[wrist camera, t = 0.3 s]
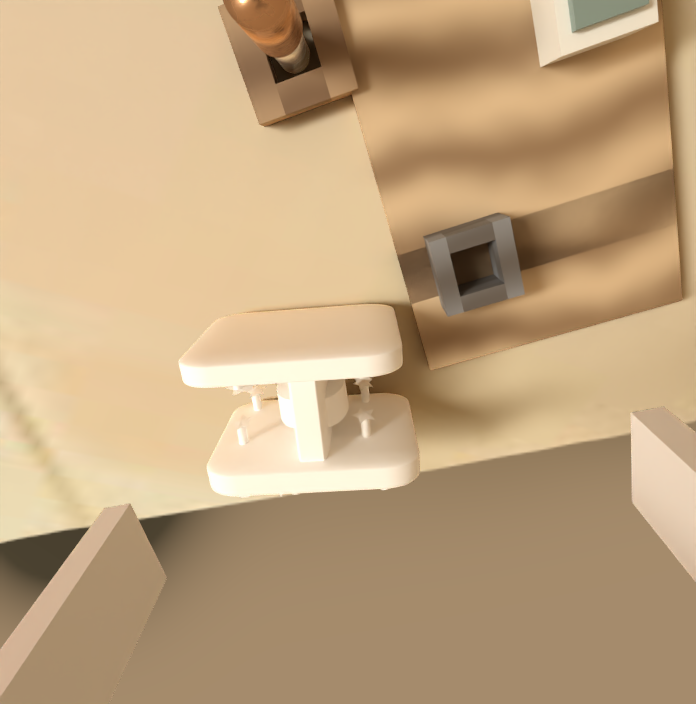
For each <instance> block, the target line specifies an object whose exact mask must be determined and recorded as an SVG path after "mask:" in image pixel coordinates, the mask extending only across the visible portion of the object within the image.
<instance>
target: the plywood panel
mask: <svg viewBox="0 0 696 704" xmlns="http://www.w3.org/2000/svg"><path fill="white" fill-rule="evenodd" d="M334 3H335V6H336V10H337V14H338V17H339V21H340V24H341V28H342V31H343V35H344V39H345V42H346V46H347V49H348V53H349V57H350V60H351V64H352V67H353V71H354V75H355V78H356V82H357V85H358V90H356V91H353V92H351V95H352V98H353V102H354V105H355V109H356V112H357V116H358V119H359V123H360V126H361V130H362V133H363V137H364V140H365V144H366V147H367V151H368V154H369V158H370V161H371V165H372V168H373V172H374V175H375V179H376V182H377V186H378V189H379V193H380V196H381V200H382V203H383V207H384V210H385V214H386V217H387V221H388V225H389V228H390V232H391V235H392V239H393V242H394V246H395V249H396V253H397V256H398V260H399V263H400V267H401V270H402V274H403V277H404V281H405V284H406V288H407V291H408V295H409V298H410V302H411V305H412V309H413V312H414V316H415V319H416V323H417V326H418V330H419V333H420V337H421V340H422V344H423V347H424V351H425V354H426V358H427V361H428V365H429V368H430V371H431V370H435V369H438V368H442V367H445V366H449V365H453V364H456V363H460V362H463V361H467V360H470V359H474V358H478V357H481V356H485V355H488V354H492V353H495V352H499V351H503V350H506V349H510V348H513V347H517V346H520V345H524V344H528V343H531V342H535V341H538V340H542V339H546V338H549V337H553V336H556V335H560V334H563V333H567V332H571V331H574V330H578V329H581V328H585V327H588V326H592V325H596V324H599V323H603V322H606V321H610V320H613V319H617V318H621V317H624V316H628V315H631V314H635V313H638V312H642V311H646V310H649V309H653V308H656V307H660V306H664V305H667V304H671V303H674V302H678V301H681V300H682V286H681V272H680V258H679V243H678V229H677V214H676V200H675V186H674V171H673V157H672V142H671V128H670V113H669V99H668V85H667V70H666V56H665V41H664V27H663V12H662V0H657V7H658V21H659V22H657V23H655V24H653V25H650V26H648V27H646V28H644V29H642V30H640V31H638V32H636V33H633V34H631V35H629V36H627V37H624V38H622V39H619V40H616V41H613V42H610V43H608V44H605V45H602V46H599V47H596V48H594V49H591V50H588V51H585V52H582V53H580V54H577V55H574V56H571V57H568V58H566V59H563V60H560V61H557V62H554V63H552V64H549V65H546V66H543V67H540V62H539V55H538V49H537V42H536V36H535V29H534V23H533V16H532V10H531V3H530V0H334Z"/></svg>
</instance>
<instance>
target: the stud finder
mask: <svg viewBox="0 0 696 704" xmlns="http://www.w3.org/2000/svg"><path fill="white" fill-rule="evenodd" d="M530 3H531V10H532V16H533V23H534V29H535V36H536V42H537V49H538V55H539V62H540V67H543V66H546V65H549V64H552V63H554V62H557V61H560V60H563V59H566V58H568V57H571V56H574V55H577V54H580V53H582V52H585V51H588V50H591V49H594V48H596V47H599V46H602V45H605V44H608V43H610V42H613V41H616V40H619V39H622V38H624V37H627V36H629V35H631V34H633V33H636V32H638V31H640V30H642V29H644V28H646V27H648V26H650V25H653V24H655V23H657V22H659V21H658V7H657V0H530Z"/></svg>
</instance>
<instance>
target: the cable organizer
mask: <svg viewBox="0 0 696 704" xmlns="http://www.w3.org/2000/svg"><path fill="white" fill-rule="evenodd" d="M402 365H403V353H402V341H401V337H400V332H399V328H398V324H397V319H396V315H395V311H394V308H393V307H391V306H388V305H383V304H357V305H343V306H330V307H316V308H303V309H289V310H276V311H262V312H249V313H239V314H233V315H229V316H225V317H222V318H219V319H217V320H216V321H214V322H213V323H212V324H211V325H210V326H209V328H208V329H207V330H206V331H205V332H204V333H203V334H202V335H201V336H200V337H199V338H198V340H197V341H196V342H195V343H194V344H193V345H192V346H191V347H190V348H189V349H188V350H187V352H186V353H185V354H184V355H183V356H182V357H181V358H180V359H179V366H180V370H181V375H182V379H183V382H184V383H185V384H187V385H189V386H192V387H198V388H215V387H227V388H226V389H231V390H234V392H233V395H236V394H238V393H241V392H243V391H246V392H248V393H251V396H250V398H251V397H252V401H253V402H252V403H248V404H245V405H243V406H241V407H239V408H237V409H236V410H235V411H234V412H233V414H232V416H231V418H230V420H229V422H228V424H227V426H226V428H225V430H224V432H223V434H222V436H221V438H220V440H219V442H218V444H217V446H216V448H215V450H214V452H213V454H212V456H211V458H210V460H209V462H208V464H207V471H208V475H209V480H210V484H211V487H212V489H213V490H214V491H215V492H217V493H219V494H222V495H226V496H239V497H240V498H241V497H249V496H254V495H273V494H280V496H282V494H292V495H297V494H299V493H311V492H329V491H348V490H367V489H382V490H387V489H389V488H395V487H399V486H403V485H407V484H408V483H410V482H412V481H413V480H415V479H416V478H417V477H418V475H419V473H420V461H419V448H418V443H417V438H416V433H415V429H414V424H413V419H412V414H411V409H410V404H409V401H408V399H407V398H405V397H403V396H401V395H398V394H392V393H373V394H369V387H373V386H372V385H371V384H370V383H369V382H370V381H371V380H372V379H370V378H369V377H376V376H381V375H385V374H389V373H392V372H394V371H396V370H398V369H399V368H400V367H401V366H402ZM352 378H354V379H355V380H356V383H353V384H355V385H359V388H360V390H361V394H358V395H347V390H346V383H345V379H352ZM276 383H277V394H278V400H264V401H261V397H260V394H261V395H264V393H263V391H262V390H264V389H265V388H266V387H267V386H265V387H259V386H258V385H261V384H276ZM254 385H256V386H255V387H254V388H253V387H252V386H254ZM230 386H231V387H230Z"/></svg>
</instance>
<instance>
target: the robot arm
mask: <svg viewBox="0 0 696 704" xmlns="http://www.w3.org/2000/svg"><path fill="white" fill-rule="evenodd" d="M631 456H632V457H631V461H632V503H633V504H634V505H635V507H636V508H637V509H638V510H639V512H640V513H641V514H642V515H643V517H644V518H645V519H646V520H647V522H648V523H649V524H650V525H651V526H652V528H653V529H654V530H655V532H656V533H657V534H658V535H659V537H660V538H661V539H662V540H663V542H664V543H665V544H666V546H667V547H668V548H669V549H670V550H671V552H672V553H673V554H674V555H675V557H676V558H677V559H678V560H679V562H680V563H681V564H682V566H683V567H684V568H685V569H686V571H687V572H688V573H689V574H690V575H691V577H692V578H693V579H694V581H695V582H696V432H695V431H694V430H692V429H691V428H690V427H689V426H687V425H686V424H685V423H684V422H682V421H681V420H680V419H679V418H678V417H676V416H675V415H674V414H673V413H671V412H670V411H669V410H668V409H666V408H665V407H664V406H663V407H658V408H652V409H647V410H641V411H636V412H631ZM166 579H167V577H166V575H165V573H164V571H163V569H162V567H161V565H160V563H159V561H158V559H157V557H156V555H155V553H154V551H153V549H152V547H151V545H150V543H149V541H148V539H147V537H146V535H145V533H144V531H143V529H142V526H141V525H140V522H139V520H138V518H137V516H136V514H135V512H134V510H133V508H132V506H131V504H124V505H119V506H113V507H108V508H104V509H103V510H102V512H101V513H100V515H99V516H98V517H97V519H96V520H95V521H94V523H93V524H92V525H91V527H90V528H89V529H88V531H87V532H86V534H85V535H84V536H83V538H82V539H81V540H80V542H79V543H78V545H77V546H76V547H75V548H74V550H73V551H72V553H71V554H70V555H69V557H68V558H67V559H66V561H65V562H64V563H63V565H62V566H61V568H60V569H59V570H58V572H57V573H56V574H55V576H54V577H53V578H52V580H51V581H50V582H49V584H48V585H47V587H46V588H45V589H44V591H43V592H42V593H41V595H40V596H39V597H38V599H37V600H36V601H35V603H34V604H33V606H32V607H31V608H30V610H29V611H28V612H27V614H26V615H25V617H24V618H23V619H22V621H21V622H20V623H19V625H18V626H17V627H16V629H15V630H14V631H13V633H12V634H11V635H10V637H9V639H8V640H7V641H6V642H5V644H4V645H3V646H2V648H1V649H0V704H109V702H110V700H111V698H112V696H113V694H114V692H115V689H116V687H117V685H118V683H119V681H120V678H121V676H122V674H123V672H124V670H125V668H126V666H127V663H128V661H129V659H130V657H131V655H132V652H133V650H134V648H135V646H136V644H137V642H138V640H139V637H140V635H141V633H142V631H143V629H144V627H145V624H146V622H147V620H148V618H149V616H150V614H151V611H152V609H153V607H154V605H155V603H156V601H157V598H158V596H159V594H160V592H161V590H162V588H163V585H164V583H165V581H166Z"/></svg>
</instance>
